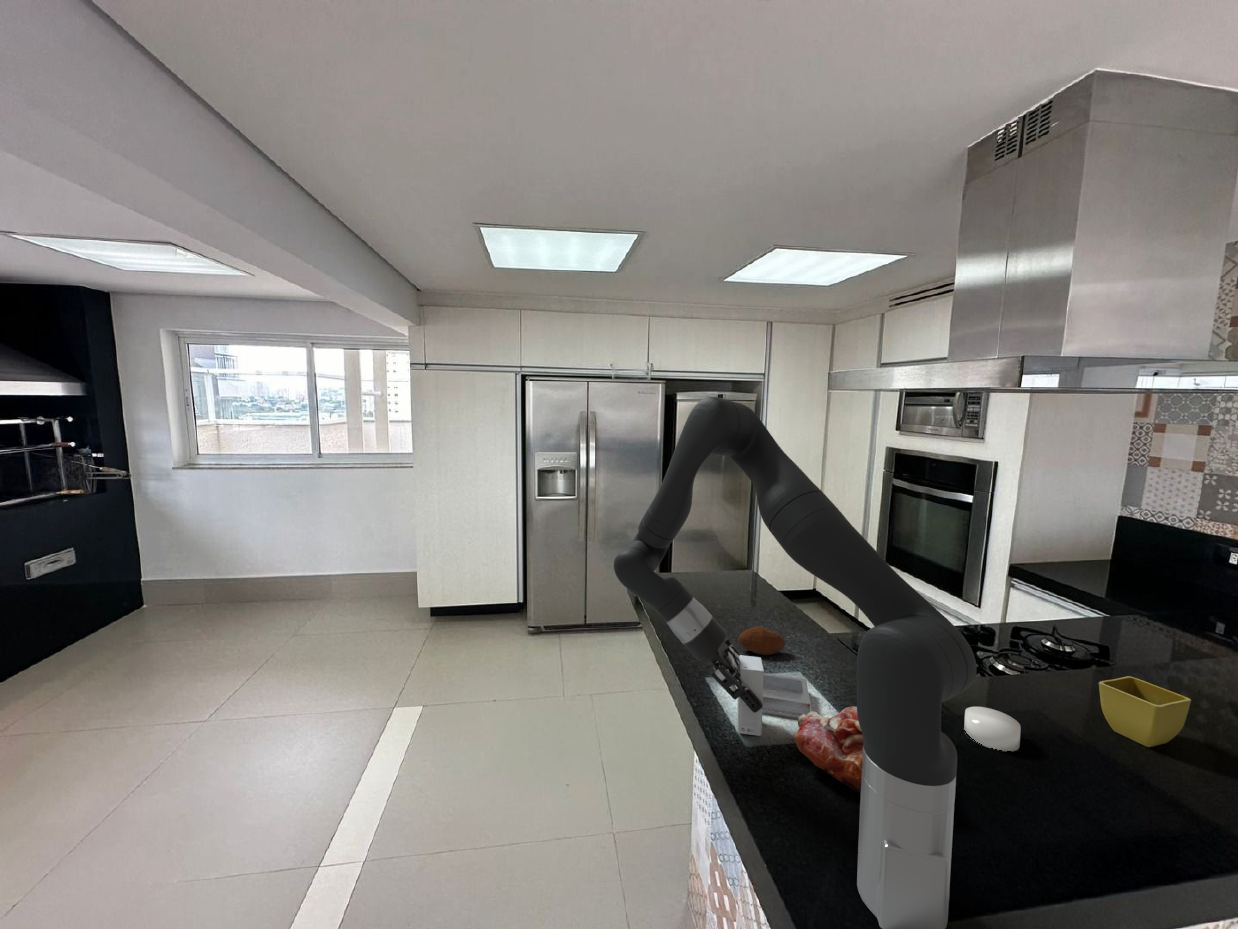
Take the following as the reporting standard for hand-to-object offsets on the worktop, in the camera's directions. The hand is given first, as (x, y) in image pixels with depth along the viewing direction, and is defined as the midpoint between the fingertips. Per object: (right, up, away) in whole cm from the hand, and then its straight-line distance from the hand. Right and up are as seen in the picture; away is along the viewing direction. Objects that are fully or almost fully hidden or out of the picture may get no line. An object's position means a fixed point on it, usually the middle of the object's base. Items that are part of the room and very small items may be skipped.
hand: (759, 699), depth 91 cm
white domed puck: (+42, -6, -1) cm, 42 cm away
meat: (+14, -7, -8) cm, 18 cm away
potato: (+10, -4, +32) cm, 34 cm away
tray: (+6, -5, +10) cm, 13 cm away
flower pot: (+69, -7, -1) cm, 69 cm away
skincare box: (-2, -5, +1) cm, 6 cm away
